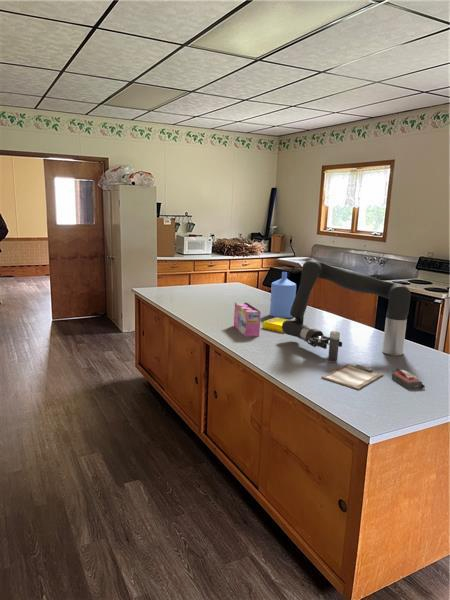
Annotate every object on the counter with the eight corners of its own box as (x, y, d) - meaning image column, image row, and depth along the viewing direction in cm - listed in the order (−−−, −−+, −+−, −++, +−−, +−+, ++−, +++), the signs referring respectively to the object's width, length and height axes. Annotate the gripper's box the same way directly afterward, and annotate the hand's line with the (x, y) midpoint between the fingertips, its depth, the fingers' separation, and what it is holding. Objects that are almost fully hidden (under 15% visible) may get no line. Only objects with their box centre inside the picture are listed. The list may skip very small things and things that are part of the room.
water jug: (293, 319, 269) (296, 274, 263) (268, 317, 272) (270, 273, 266) (294, 314, 284) (297, 271, 278) (270, 312, 287) (273, 269, 281)
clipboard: (347, 365, 191) (348, 361, 190) (383, 375, 180) (383, 371, 180) (321, 378, 175) (321, 374, 175) (358, 390, 164) (359, 386, 164)
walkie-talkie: (429, 390, 168) (398, 371, 187) (431, 379, 167) (400, 361, 186) (409, 391, 166) (380, 372, 185) (410, 380, 165) (381, 362, 184)
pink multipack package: (232, 325, 251) (233, 302, 249) (245, 324, 253) (246, 302, 251) (245, 337, 229) (246, 311, 226) (259, 336, 231) (261, 311, 228)
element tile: (284, 333, 238) (284, 325, 237) (261, 328, 247) (261, 320, 246) (297, 328, 250) (298, 320, 249) (275, 324, 259) (275, 316, 258)
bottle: (330, 359, 198) (333, 330, 195) (339, 362, 195) (341, 332, 192) (325, 361, 195) (328, 332, 192) (334, 364, 192) (336, 334, 189)
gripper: (299, 329, 204) (321, 339, 189) (324, 327, 210) (347, 336, 195) (298, 345, 205) (320, 355, 191) (323, 342, 211) (345, 352, 197)
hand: (333, 345), depth 193 cm, fingers open, 8 cm apart
